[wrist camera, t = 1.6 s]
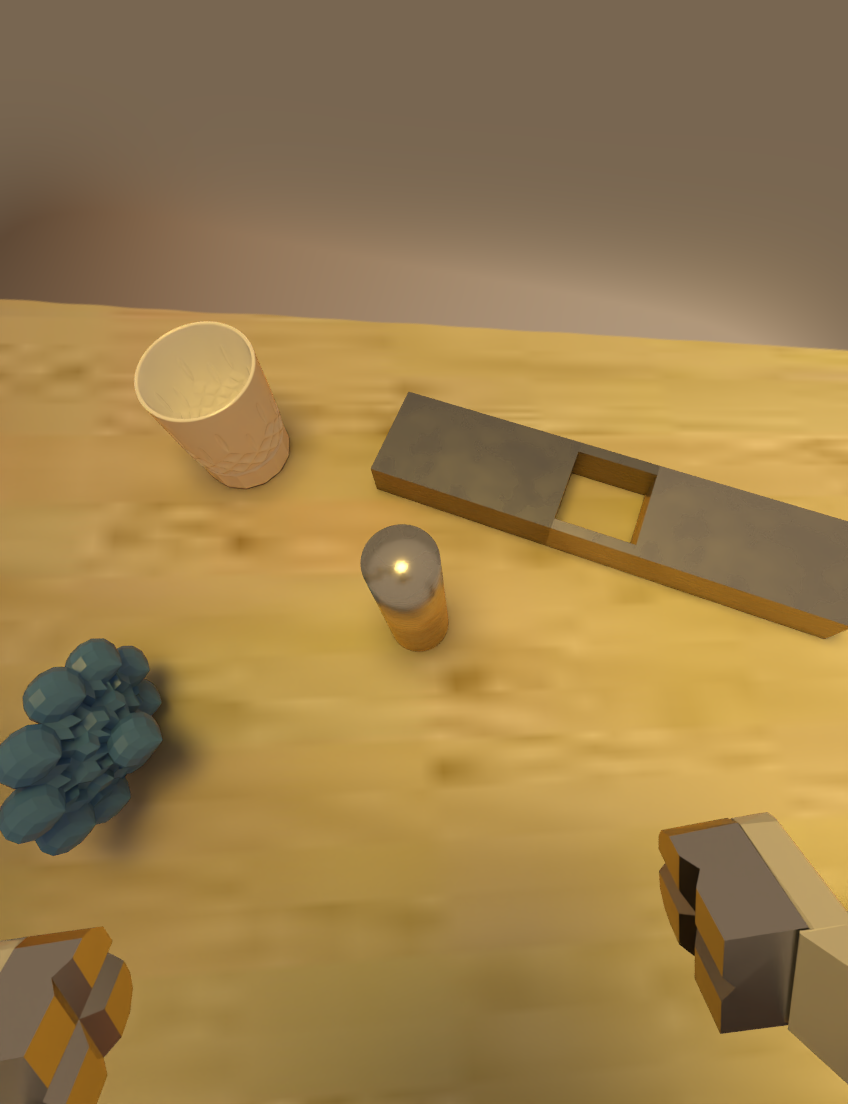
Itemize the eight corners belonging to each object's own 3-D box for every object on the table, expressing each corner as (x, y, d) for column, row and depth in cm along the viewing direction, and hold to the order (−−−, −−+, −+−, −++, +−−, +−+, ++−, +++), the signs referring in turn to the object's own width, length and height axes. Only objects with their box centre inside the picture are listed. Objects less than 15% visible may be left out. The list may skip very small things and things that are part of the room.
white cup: (204, 415, 48) (140, 327, 39) (298, 405, 48) (257, 314, 39) (196, 500, 45) (126, 427, 36) (297, 491, 45) (252, 414, 36)
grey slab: (376, 488, 45) (370, 468, 42) (412, 415, 47) (408, 391, 44) (824, 638, 38) (852, 627, 35) (840, 545, 40) (868, 527, 38)
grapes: (190, 847, 36) (67, 873, 25) (86, 842, 37) (-80, 867, 26) (220, 659, 41) (126, 611, 29) (126, 657, 41) (-1, 610, 30)
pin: (381, 639, 40) (347, 582, 29) (404, 587, 42) (379, 514, 30) (435, 660, 39) (422, 610, 28) (457, 606, 41) (452, 539, 30)
